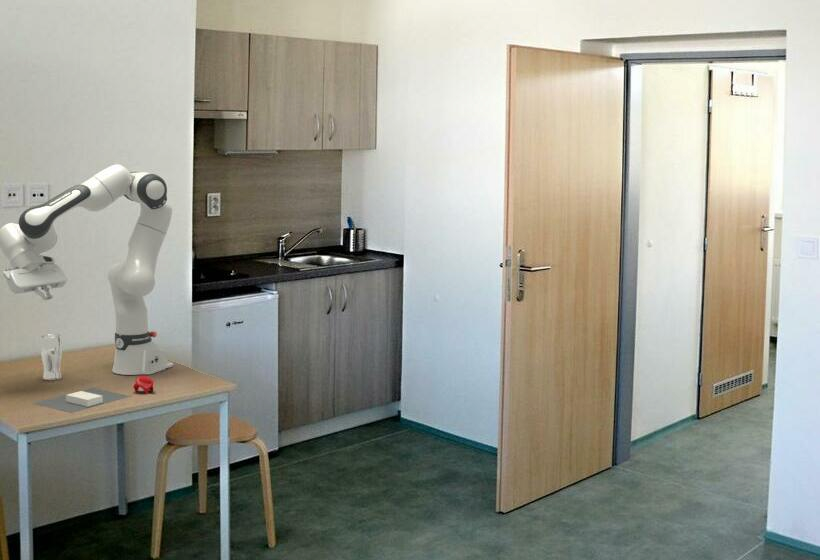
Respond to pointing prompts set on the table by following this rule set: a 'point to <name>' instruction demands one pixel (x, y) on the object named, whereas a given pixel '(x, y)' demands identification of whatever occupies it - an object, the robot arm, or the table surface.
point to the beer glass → (51, 356)
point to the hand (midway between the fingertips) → (48, 298)
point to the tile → (84, 399)
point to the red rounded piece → (143, 384)
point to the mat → (62, 405)
